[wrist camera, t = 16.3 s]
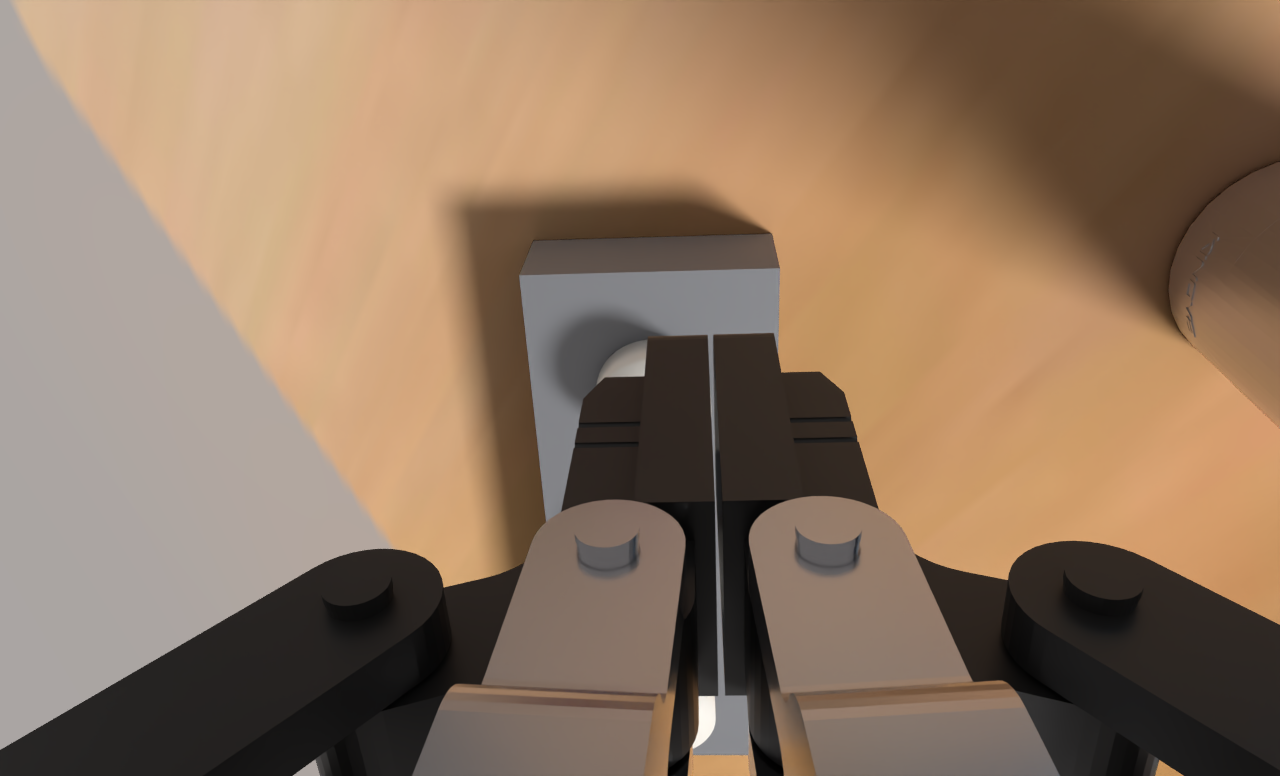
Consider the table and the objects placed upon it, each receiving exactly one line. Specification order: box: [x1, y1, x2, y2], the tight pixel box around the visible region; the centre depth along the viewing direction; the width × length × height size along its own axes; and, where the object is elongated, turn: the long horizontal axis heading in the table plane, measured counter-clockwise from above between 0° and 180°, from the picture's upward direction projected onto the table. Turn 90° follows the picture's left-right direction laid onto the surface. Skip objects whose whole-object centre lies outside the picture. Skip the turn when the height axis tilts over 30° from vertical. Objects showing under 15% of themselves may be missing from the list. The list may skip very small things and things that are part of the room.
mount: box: [519, 234, 780, 755], centre depth 46 cm, size 10×26×4 cm, turn 3°
